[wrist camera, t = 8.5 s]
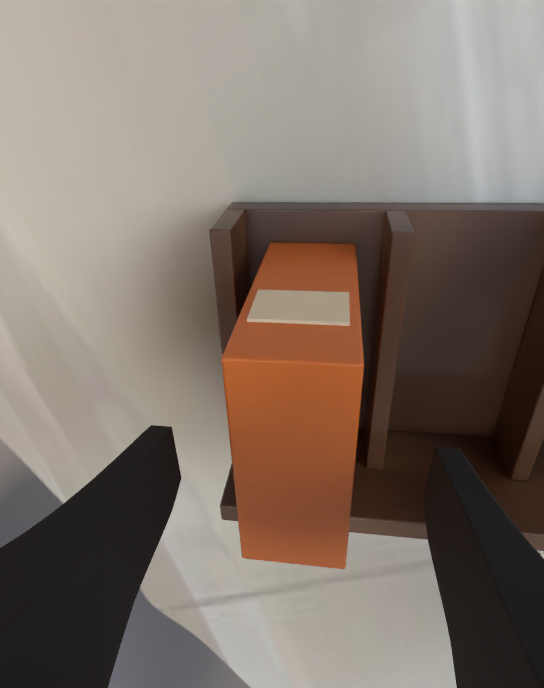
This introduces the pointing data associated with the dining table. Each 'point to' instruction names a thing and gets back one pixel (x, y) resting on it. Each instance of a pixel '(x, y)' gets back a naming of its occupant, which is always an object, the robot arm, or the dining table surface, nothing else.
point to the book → (296, 404)
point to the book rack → (423, 344)
